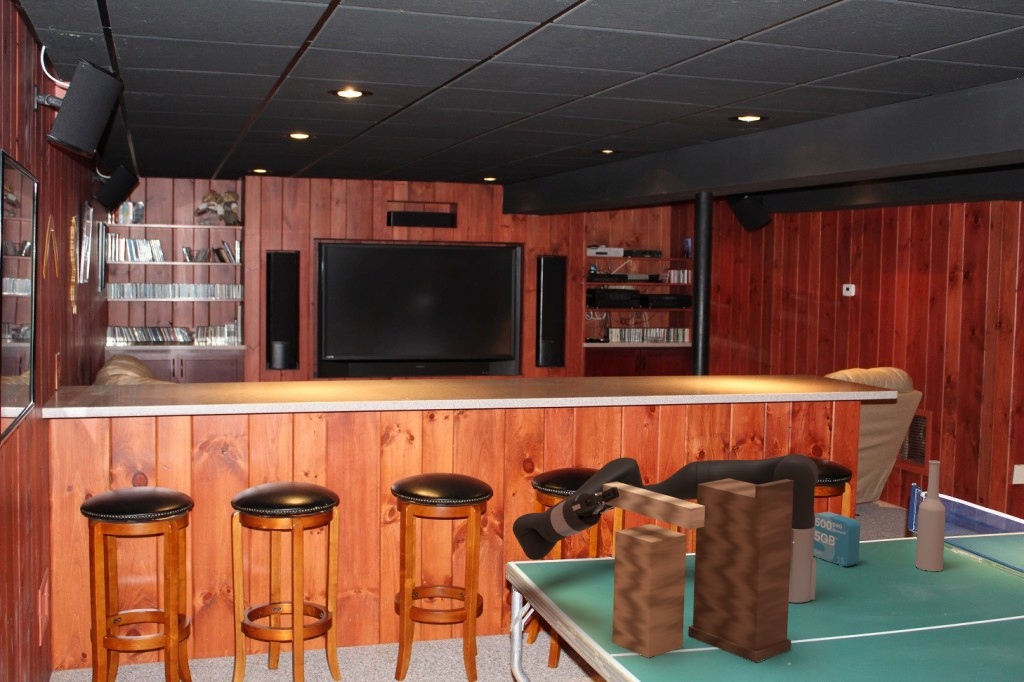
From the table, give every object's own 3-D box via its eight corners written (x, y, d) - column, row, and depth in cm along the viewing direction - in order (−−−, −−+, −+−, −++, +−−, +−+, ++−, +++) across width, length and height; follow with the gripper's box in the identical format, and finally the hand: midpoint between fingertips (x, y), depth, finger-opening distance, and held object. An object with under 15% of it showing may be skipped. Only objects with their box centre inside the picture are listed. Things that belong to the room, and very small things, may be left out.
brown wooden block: (602, 502, 205) (603, 484, 205) (616, 500, 207) (616, 481, 207) (690, 529, 186) (691, 508, 186) (704, 526, 189) (705, 506, 188)
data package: (810, 556, 263) (812, 512, 262) (822, 554, 265) (824, 510, 264) (847, 568, 253) (849, 522, 252) (858, 566, 255) (861, 520, 254)
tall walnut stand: (688, 635, 204) (693, 471, 201) (723, 624, 211) (729, 465, 208) (755, 663, 191) (762, 487, 188) (790, 649, 198) (798, 480, 195)
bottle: (912, 568, 254) (918, 461, 251) (918, 562, 259) (924, 457, 257) (939, 573, 250) (945, 465, 248) (945, 567, 255) (951, 461, 253)
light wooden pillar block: (612, 642, 200) (615, 531, 198) (646, 631, 206) (649, 523, 204) (648, 658, 192) (651, 542, 190) (682, 646, 198) (686, 534, 196)
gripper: (545, 502, 211) (594, 476, 199) (593, 494, 220) (643, 468, 208) (555, 536, 209) (606, 512, 197) (604, 526, 218) (655, 502, 206)
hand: (624, 490), depth 202 cm, fingers closed on brown wooden block, 4 cm apart
